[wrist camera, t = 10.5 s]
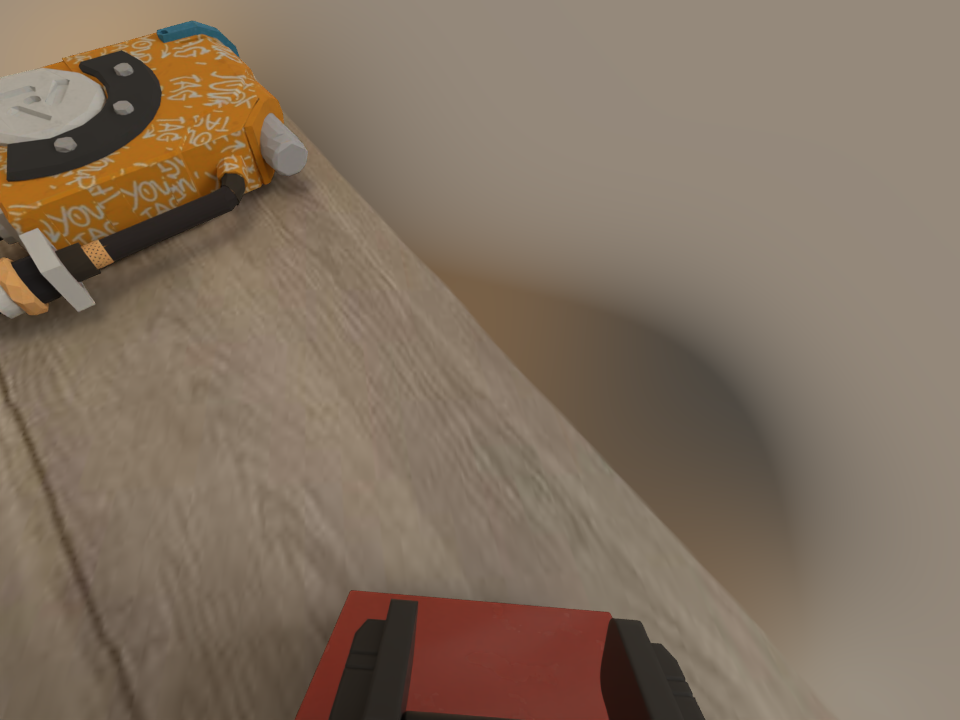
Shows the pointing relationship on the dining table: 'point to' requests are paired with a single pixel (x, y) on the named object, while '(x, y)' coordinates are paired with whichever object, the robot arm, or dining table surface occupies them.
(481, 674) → the lid
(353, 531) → the dining table surface
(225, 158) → the device
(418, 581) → the dining table surface
